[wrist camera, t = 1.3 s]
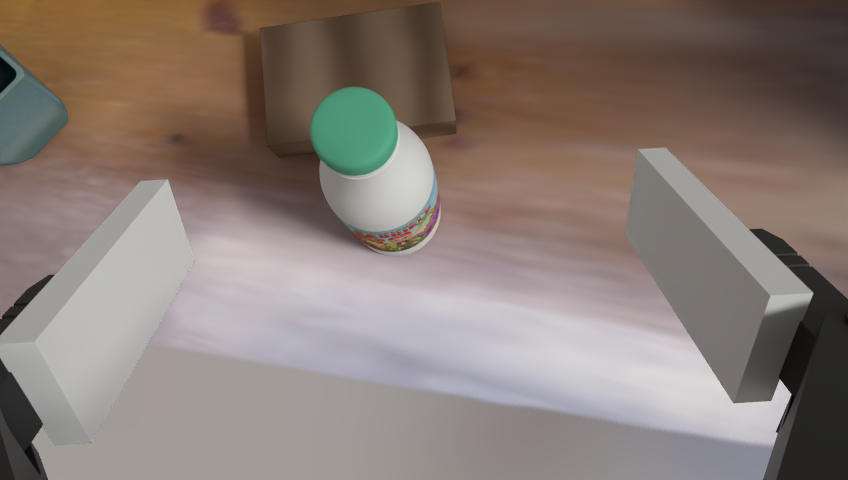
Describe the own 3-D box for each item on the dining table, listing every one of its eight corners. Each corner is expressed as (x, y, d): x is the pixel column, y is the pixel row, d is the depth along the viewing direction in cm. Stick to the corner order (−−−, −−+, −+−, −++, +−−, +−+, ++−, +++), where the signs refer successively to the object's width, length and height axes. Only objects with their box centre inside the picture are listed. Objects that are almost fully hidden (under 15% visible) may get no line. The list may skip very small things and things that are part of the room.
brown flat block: (441, 21, 52) (440, 1, 49) (456, 133, 49) (455, 120, 46) (271, 45, 52) (260, 28, 49) (279, 157, 50) (267, 145, 47)
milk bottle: (336, 201, 49) (251, 107, 29) (410, 154, 49) (373, 29, 30) (383, 274, 48) (326, 226, 28) (458, 225, 48) (454, 143, 28)
